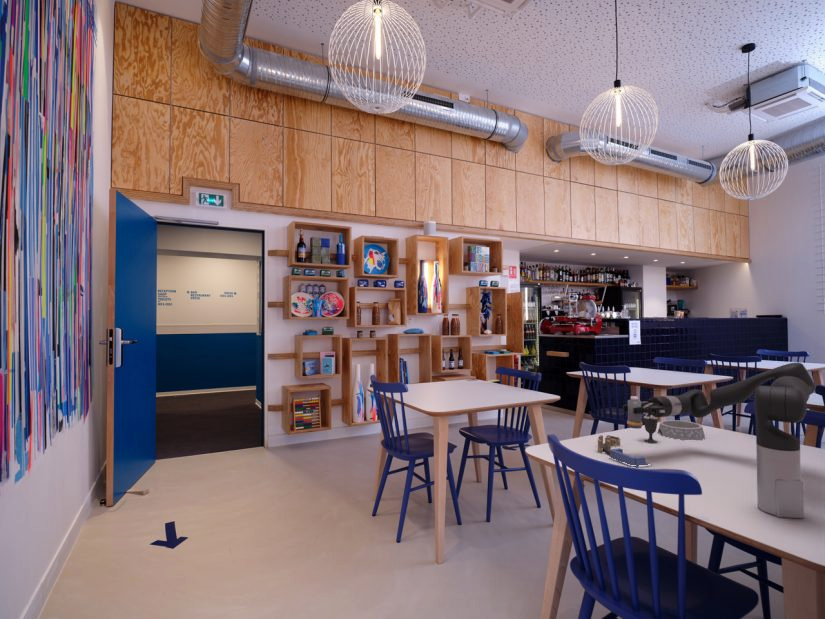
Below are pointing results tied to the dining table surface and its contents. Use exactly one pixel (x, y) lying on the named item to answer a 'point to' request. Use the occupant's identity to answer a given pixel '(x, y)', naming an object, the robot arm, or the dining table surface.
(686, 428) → the dog bowl
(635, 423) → the grey piece
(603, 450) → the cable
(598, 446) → the clip
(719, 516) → the dining table surface
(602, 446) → the clip
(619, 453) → the holder
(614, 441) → the tan wooden end block
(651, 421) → the sundae
